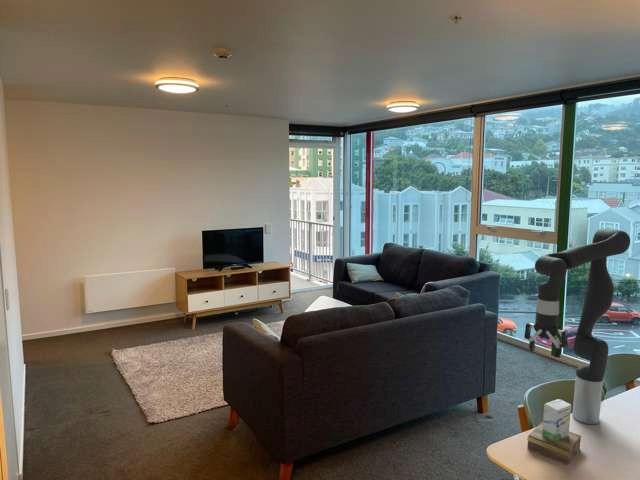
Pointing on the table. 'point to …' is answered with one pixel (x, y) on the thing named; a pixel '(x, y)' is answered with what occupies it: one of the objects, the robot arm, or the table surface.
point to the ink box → (556, 420)
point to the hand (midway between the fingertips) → (544, 353)
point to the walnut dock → (554, 445)
